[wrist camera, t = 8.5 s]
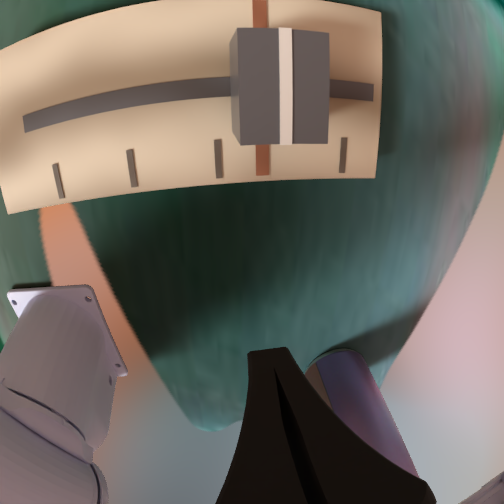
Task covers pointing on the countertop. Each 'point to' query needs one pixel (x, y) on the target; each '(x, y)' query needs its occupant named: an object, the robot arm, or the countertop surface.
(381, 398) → the beverage can
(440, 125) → the countertop surface
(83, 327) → the robot arm
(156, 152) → the console
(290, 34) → the fader
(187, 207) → the countertop surface
